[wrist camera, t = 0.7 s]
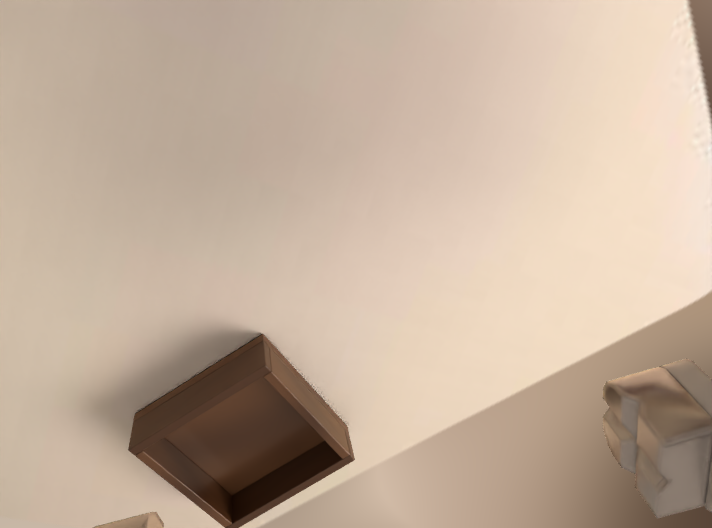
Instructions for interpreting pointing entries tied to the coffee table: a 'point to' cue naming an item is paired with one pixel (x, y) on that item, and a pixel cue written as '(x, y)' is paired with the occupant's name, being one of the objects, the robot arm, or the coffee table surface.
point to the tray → (242, 435)
